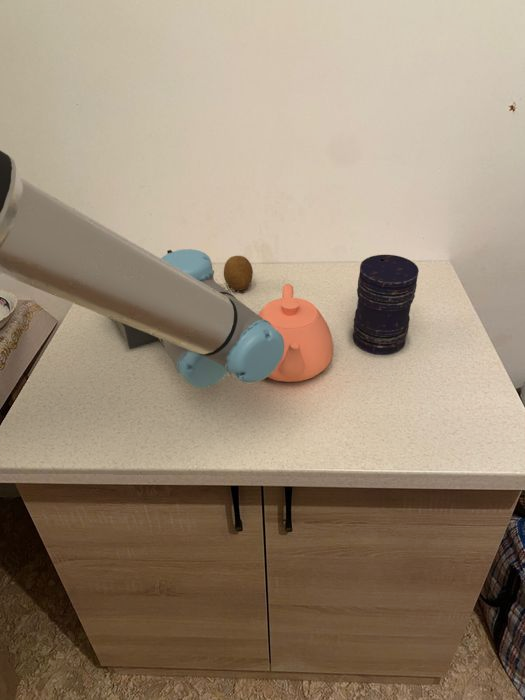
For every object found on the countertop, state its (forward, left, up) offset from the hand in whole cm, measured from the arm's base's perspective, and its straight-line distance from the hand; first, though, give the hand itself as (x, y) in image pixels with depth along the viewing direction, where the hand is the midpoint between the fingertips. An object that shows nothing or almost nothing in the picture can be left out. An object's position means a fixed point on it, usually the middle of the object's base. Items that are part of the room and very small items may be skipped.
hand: (136, 264), depth 98 cm
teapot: (+17, -30, -10) cm, 36 cm away
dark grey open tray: (0, -2, -10) cm, 10 cm away
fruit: (+20, -3, -10) cm, 23 cm away
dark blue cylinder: (+35, -32, -10) cm, 49 cm away
